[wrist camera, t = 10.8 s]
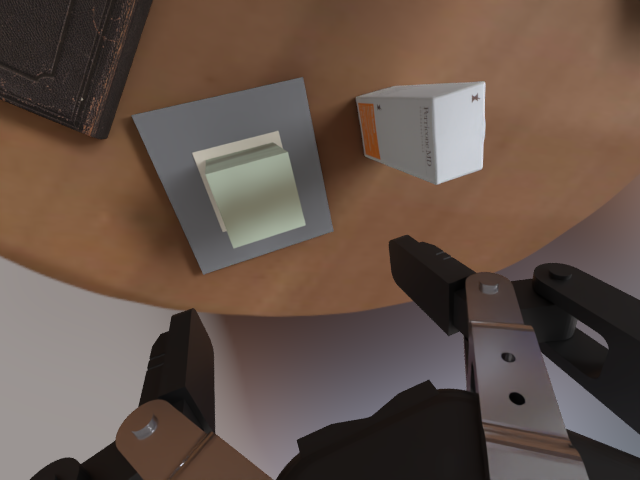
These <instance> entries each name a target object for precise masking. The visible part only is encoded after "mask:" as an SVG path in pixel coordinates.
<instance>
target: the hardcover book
mask: <svg viewBox="0 0 640 480" xmlns="http://www.w3.org/2000/svg"><path fill="white" fill-rule="evenodd" d="M151 4H152V0H0V99H1V100H3V101H5V102H8V103H10V104H13V105H15V106H18V107H20V108H22V109H25V110H27V111H30V112H32V113H35V114H37V115H39V116H42V117H44V118H47V119H49V120H52V121H54V122H56V123H59V124H61V125H64V126H66V127H69V128H71V129H73V130H76V131H78V132H81V133H83V134H86V135H88V136H91V137H94V138H98V139H106V138H107V137H108V134H109V131H110V128H111V125H112V122H113V119H114V116H115V113H116V110H117V107H118V104H119V101H120V98H121V95H122V92H123V89H124V86H125V83H126V80H127V77H128V74H129V70H130V67H131V64H132V61H133V58H134V55H135V52H136V49H137V46H138V43H139V40H140V37H141V34H142V31H143V28H144V25H145V22H146V19H147V16H148V13H149V10H150V7H151Z"/></svg>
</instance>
